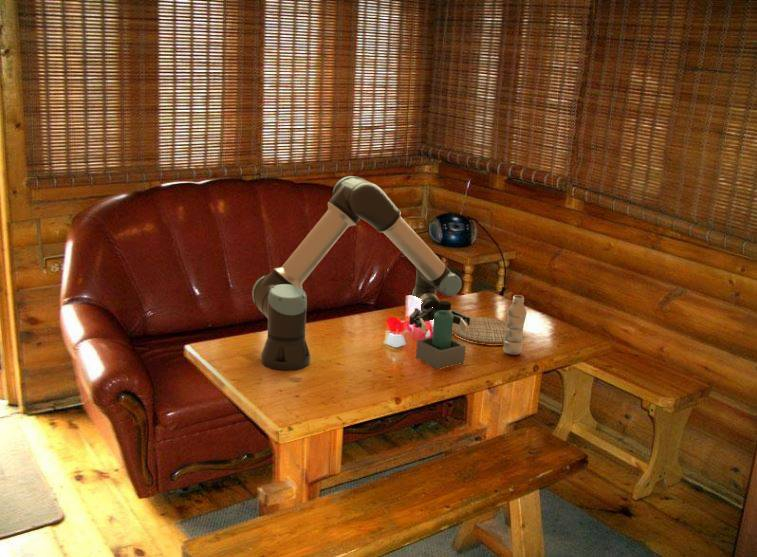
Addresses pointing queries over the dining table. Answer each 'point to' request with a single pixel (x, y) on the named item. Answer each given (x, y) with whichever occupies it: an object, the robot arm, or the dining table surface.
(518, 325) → the plastic bottle
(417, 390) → the dining table surface
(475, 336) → the trivet
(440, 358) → the bottle holder
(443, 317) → the beverage bottle
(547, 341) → the dining table surface
